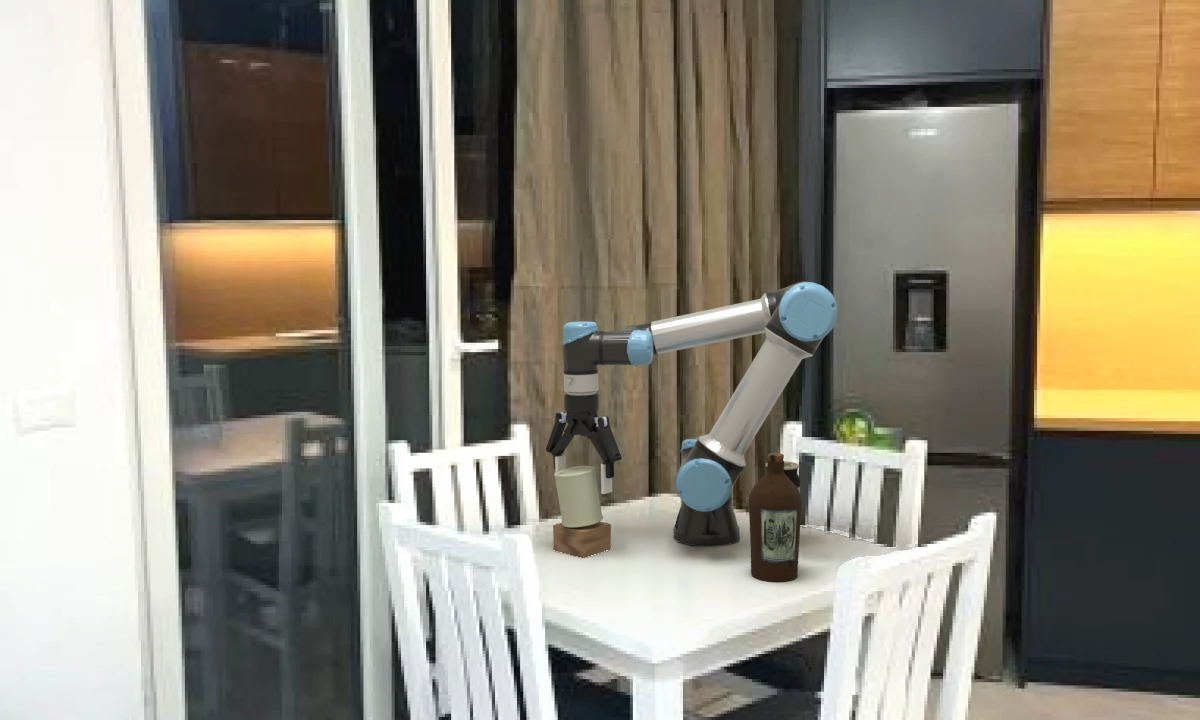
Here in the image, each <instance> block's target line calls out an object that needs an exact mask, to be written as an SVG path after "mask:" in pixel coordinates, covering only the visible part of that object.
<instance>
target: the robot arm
mask: <svg viewBox="0 0 1200 720" xmlns="http://www.w3.org/2000/svg"><path fill="white" fill-rule="evenodd" d="M837 319H838V304H837V301H836V299H835V296H834V295H833V293H831V291H830V290H829V289H828V288H826V287H825V286H824V285H821V284H818V283H816V282H813V281H805V280H804V281H798V282H796V283H793V284H790V285H788V286H786V287H783V288H780V289H778V290H777V289H776V290H773V291H770V292H765V293H763V294H762V296H761V298H758V299H753V300H749V301H742V302H739V303H733V304H730V305H725V306H720V307H716V308H710V309H706V310H702V311H697V312H693V313H688V314H682V315H678V316H673V317H669V318H664V319H658V320H654V321H651V322H645V323H640V324H630V325H627V326H624V328H621V330H599V328H598V325H597V323H596V322H595V321H571V322H567V323H565V324H564V325H563V327H562V344H561V345H562V359H563V360H562V364H563V365H562V366H563V391H564V392H565V394H564V395H563V397H564V398H563V399H564V400H563V402H564V405H563V407H564V410H565V411H560V412H557V413H555V418H554V420H555V421H554V425H553V427H552V430H551V433H550V435H549V439H548V442H547V444H546V448H545V451H546V452H547V453H550V454H551V455H552V457H553V458H552V459H553V470H555V472H557V471H559V470H562V469H566V468H567V455H565V454H566V453H565V451H566V450H567V448H568V446H569V445H570V443H571V442H572V440H573V439H574V437H575V436H581V437H586V438H587V439H588V440H590V442H591V443H592V445H593V446H594V448H595V450H596V452H597V453H598V455H599V457H600V458H601V460H602V463H600V487H601V491H600V492H601V495H605V494H609V493H613V478H614V477H615V462H618V461H621V460H622V454H621V452H620V449H619V446H618V444H617V441H616V438H615V436H614V433H613V432H612V428H611V424H610V418H609V416H607V415H606V416H601V417H598V410H599V408H600V403H599V402H600V400H599V399H600V397H599V394H598V393H597V392H598V391H599V390H600V389H599V366H633V367H638V366H648V365H650V364H652V362H653V357H654V356H657V355H660V354H666V353H670V352H675V351H680V350H685V349H690V348H694V347H695V348H696V347H699V346H705V345H710V344H715V343H720V342H725V341H729V340H730V341H731V340H734V339H740V338H745V337H749V336H754V335H760V334H764V333H765V336H766V338H765V340H764V342H763V343H762V346H761V347H760V349H759V350H758V352H757V354H756V356H754V358H753V360H752V362H751V363H750V366H749V368H747V371H746V372H745V374H744V375H743V377H742V379H741V380H740V382H739V384H738V385H737V387H736V388H735V390H734V392H733V393H732V395H731V397H730V398H729V401H728V402H727V404H726V405H725V407H724V408H723V410H722V412H721V413H720V415H719V417H718V419H717V420H716V422H715V423H714V425H713V426H712V429H711V430H710V431H709V433H708V434H705V435H704V434H703V435H700V436H698V438H686V439H684V440H683V441H682V443H681V449H680V453H681V461H680V463H681V464H680V467H679V470H678V471H677V473H676V477H675V488H676V491H677V493H678V496H679V498H680V499H681V502H680V503H681V504H680V508H679V510H678V513H677V516H676V519H675V523H674V526H673V539H674V540H675V541H677V542H678V543H682V544H684V545H689V546H697V547H721V546H728V545H732V544H735V543H737V542H738V541H740V539H741V538H740V532H741V531H740V526H739V525H738V519H737V516H736V513H735V510H734V507H733V487H734V485H735V484H736V482H737V481H738V479H739V477H740V475H741V473H742V472H743V470H744V469H745V467H746V465H747V464H746V459H745V453H746V452H747V450H748V449H749V446H751V444H752V442H753V441H754V439H755V437H756V435H757V433H759V430H760V429H761V427H762V426H763V424H764V422H765V421H766V419H767V418H768V415H769V414H770V412H771V411H772V409H773V407H774V406H775V404H776V402H777V401H778V399H779V398H780V396H781V394H782V393H783V391H784V390H785V388H786V386H788V385H787V384H788V383H789V382H790V379H791V377H792V376H793V375H794V374H795V371H796V370H797V368H798V367H799V365H800V363H801V362H802V360H803V359H807V358H810V357H813V356H814V355H815V352H817V350H818V348H819V345H821V344H822V343H821V342H822V341H823V340H824V338H825V337H826V336H828V334H829V333H830V332H831V331H832V330H833V328H834V327H835V325H836V323H837ZM555 472H554V473H555Z"/></svg>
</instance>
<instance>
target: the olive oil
mask: <svg viewBox="0 0 1200 720" xmlns="http://www.w3.org/2000/svg"><path fill="white" fill-rule="evenodd" d="M784 456H785V455H784V454H783V453H779V452H771V453H768V454H767V459H768V460H767V461H766V463H767V467H766V471H767V472H766V473H765V474H764V475H763V476H762V477H761V478H760V479H759V480H758V481H757V483H756V484H754V485H753V487H752V489H751V491H750V494H749V498H748V515H749V539H750V540H749V543H750V546H749V547H750V574H751V576H752V577H753V578H754V579H757V580H760V581H765V582H773V583H782V582H790V581H794V580H795V579H797V578H798V572H799V571H798V570H799V554H800V553H799V551H800V535H801V534H800V533H801V522H802V507H803V501H802V496H801V491H800V492H799V490H798V488H797V487H796V486H795V485H794V484H793V483H792V481H791V480H790V479H789V478H788V477H787V476H786V475H785V473H784V461H785V460H784V458H785V457H784Z"/></svg>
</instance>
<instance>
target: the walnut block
mask: <svg viewBox="0 0 1200 720" xmlns="http://www.w3.org/2000/svg"><path fill="white" fill-rule="evenodd" d="M552 528H553V530H552V533H553V534H552V537H553V540H552V541H553V542H552V543H553V548H552V549H553V550H555V551H554V552H556V551H558V552H557V553H560V552H562V553H561V554H564V553H566V554H565V555H568V554H570V555H569V556H572V555H573V557H576V556H578V557H577V558H580V557H581V558H580V559H586V558H589V557H588V556H590V557H592V556H591V555H593V556H594V554H596V555H598V553H599V554H602V553H604V551H605V552H607V551H606V550H608V551H611V550H612V524H611V523H608V522H603V521H600V522H598V523H596V524H593V525H589V526H584V527H573V528H571V527H564V526H562V522H559V523H556V524H553V525H552ZM610 549H611V550H610ZM601 552H602V553H601ZM585 557H586V558H585Z"/></svg>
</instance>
